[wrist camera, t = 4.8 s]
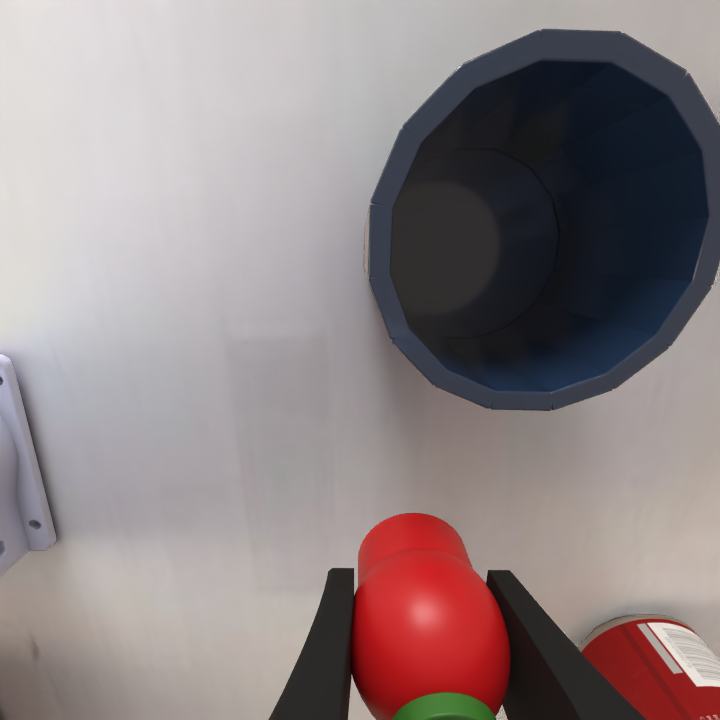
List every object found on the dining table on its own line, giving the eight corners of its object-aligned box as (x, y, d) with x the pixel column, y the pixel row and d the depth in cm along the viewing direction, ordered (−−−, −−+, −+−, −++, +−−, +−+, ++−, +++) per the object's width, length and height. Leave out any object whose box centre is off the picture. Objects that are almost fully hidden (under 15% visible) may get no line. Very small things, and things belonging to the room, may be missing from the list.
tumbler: (544, 348, 15) (677, 414, 9) (361, 344, 15) (363, 407, 9) (580, 141, 13) (787, 35, 7) (366, 135, 13) (374, 21, 7)
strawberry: (467, 605, 12) (550, 873, 7) (347, 604, 12) (340, 873, 7) (480, 504, 11) (593, 730, 6) (349, 502, 11) (342, 729, 6)
